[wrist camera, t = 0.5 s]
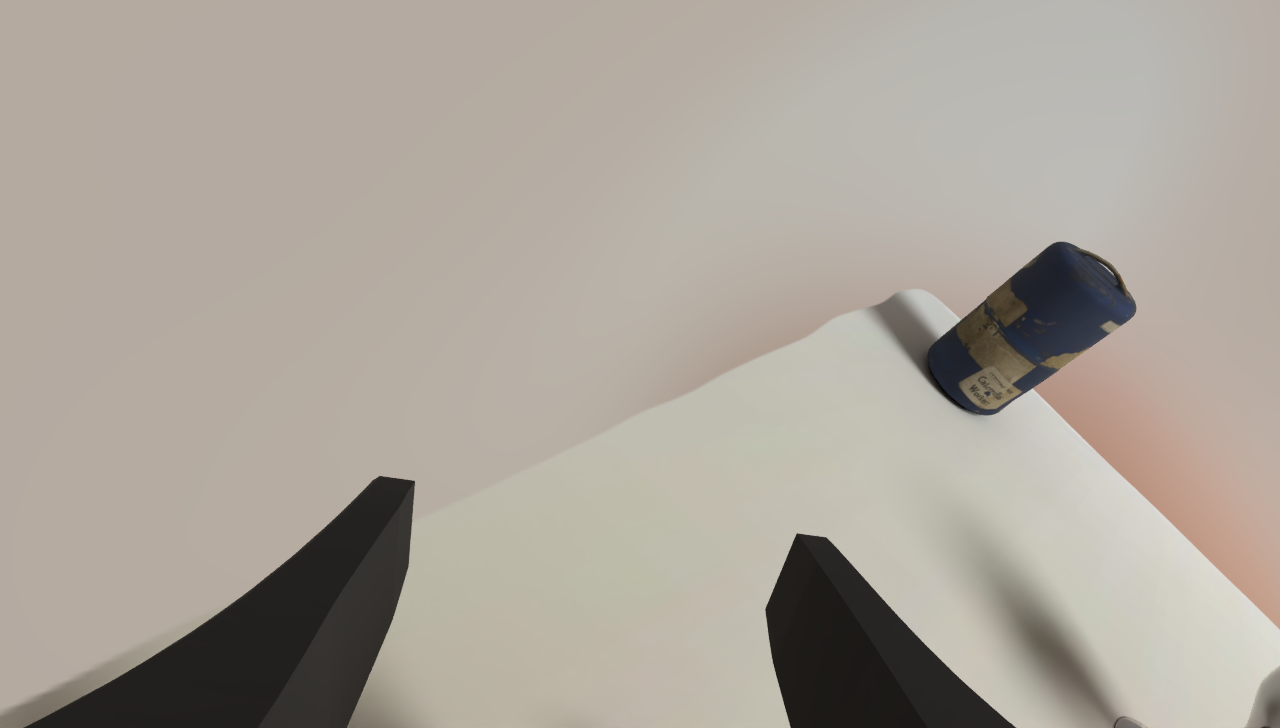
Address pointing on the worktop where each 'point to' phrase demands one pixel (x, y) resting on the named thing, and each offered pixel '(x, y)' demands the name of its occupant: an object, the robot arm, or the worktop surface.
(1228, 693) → the worktop surface
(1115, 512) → the worktop surface
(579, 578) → the worktop surface
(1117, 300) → the canister
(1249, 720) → the silver goblet
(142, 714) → the robot arm
